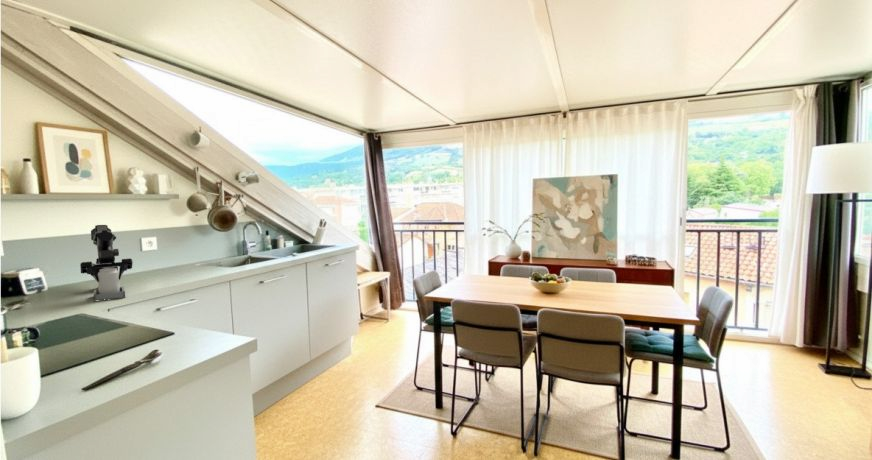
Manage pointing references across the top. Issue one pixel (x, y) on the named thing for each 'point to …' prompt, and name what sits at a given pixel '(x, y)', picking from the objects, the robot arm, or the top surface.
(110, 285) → the can
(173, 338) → the top surface
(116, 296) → the tray
